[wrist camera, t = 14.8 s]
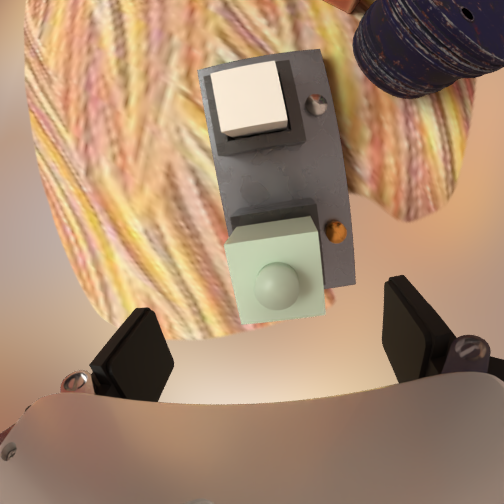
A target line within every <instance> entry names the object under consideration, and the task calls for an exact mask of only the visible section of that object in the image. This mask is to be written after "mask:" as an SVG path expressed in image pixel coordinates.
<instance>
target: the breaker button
mask: <svg viewBox="0 0 504 504" xmlns="http://www.w3.org/2000/svg"><path fill="white" fill-rule="evenodd" d="M211 80H212V85H213V91H214V96H215V102H216V107H217V112H218V118H219V123H220V129H221V132H222V133H224V134H226V135H228V136H230V137H233V138H240V137H245V136H250V135H256V134H262V133H267V132H274V131H280V130H286V129H287V121H288V120H287V115H286V110H285V105H284V100H283V95H282V90H281V86H280V81H279V77H278V72H277V68H276V64H275V61H269V62H263V63H257V64H252V65H246V66H241V67H236V68H232V69H227V70H223V71H219V72H215V73H211Z"/></svg>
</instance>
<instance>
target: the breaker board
mask: <svg viewBox="0 0 504 504" xmlns="http://www.w3.org/2000/svg"><path fill="white" fill-rule="evenodd" d="M269 61H275V64H276V68H277V72H278V77H279V81H280V86H281V90H282V95H283V100H284V105H285V110H286V115H287V120H288V121H287V129H286V130H280V131H274V132H267V133H262V134H256V135H250V136H245V137H240V138H233V137H230V136H228V135H226V134H224V133H222V132H221V129H220V123H219V118H218V112H217V107H216V102H215V96H214V91H213V85H212V80H211V73H215V72H219V71H223V70H227V69H232V68H236V67H241V66H246V65H252V64H257V63H263V62H269ZM197 71H198V77H199V83H200V88H201V94H202V100H203V105H204V111H205V116H206V122H207V127H208V133H209V138H210V143H211V149H212V154H213V159H214V164H215V170H216V175H217V180H218V185H219V190H220V195H221V200H222V205H223V210H224V215H225V220H226V225H227V230H228V235H229V237H230V235H231V234H232V232H233V231H234V229H235V228H236V227H239V226H246V225H252V224H259V223H265V222H272V221H279V220H286V219H293V218H300V217H307V216H311V218H312V220H313V223H314V225H315V227H316V229H317V231H318V237H319V246H320V255H321V265H322V275H323V286H324V289H328V288H335V287H341V286H348V285H354V284H356V281H355V262H354V248H353V234H352V223H351V213H350V204H349V195H348V187H347V180H346V173H345V166H344V159H343V153H342V147H341V141H340V135H339V130H338V124H337V119H336V114H335V109H334V105H333V100H332V95H331V91H330V87H329V82H328V78H327V74H326V70H325V66H324V62H323V58H322V55H321V51H320V49H315V50H303V51H294V52H286V53H278V54H271V55H265V56H259V57H253V58H248V59H243V60H238V61H233V62H229V63H224V64H220V65H216V66H212V67H208V68H204V69H201V70H197Z"/></svg>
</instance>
